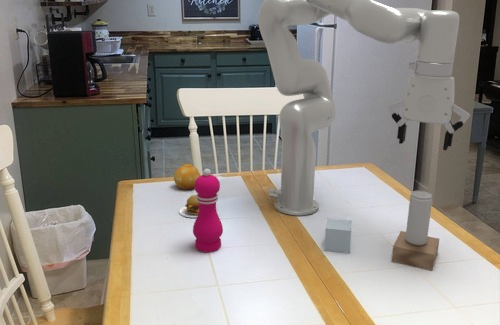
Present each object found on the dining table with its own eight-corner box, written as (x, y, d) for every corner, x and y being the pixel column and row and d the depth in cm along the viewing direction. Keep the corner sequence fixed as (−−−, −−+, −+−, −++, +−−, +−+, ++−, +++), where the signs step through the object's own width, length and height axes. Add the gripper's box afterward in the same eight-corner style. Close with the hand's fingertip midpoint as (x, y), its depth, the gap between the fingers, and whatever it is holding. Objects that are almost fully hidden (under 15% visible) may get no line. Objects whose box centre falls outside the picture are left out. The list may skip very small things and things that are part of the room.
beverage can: (427, 247, 117) (434, 198, 113) (406, 245, 118) (411, 197, 114) (425, 238, 121) (431, 191, 117) (404, 236, 122) (409, 189, 118)
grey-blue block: (324, 250, 123) (325, 228, 122) (325, 240, 129) (327, 218, 127) (349, 253, 122) (351, 230, 120) (350, 242, 128) (351, 220, 126)
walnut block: (391, 261, 119) (393, 245, 117) (399, 245, 126) (400, 230, 125) (432, 270, 115) (434, 254, 113) (437, 253, 122) (439, 238, 121)
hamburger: (165, 214, 144) (164, 196, 143) (197, 202, 153) (196, 185, 151) (193, 226, 137) (192, 208, 135) (225, 214, 145) (225, 196, 143)
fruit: (193, 173, 169) (184, 156, 164) (209, 181, 164) (199, 164, 159) (176, 190, 166) (165, 173, 161) (190, 199, 161) (180, 182, 156)
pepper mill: (227, 242, 127) (227, 166, 121) (216, 255, 120) (215, 175, 114) (200, 237, 129) (199, 162, 123) (188, 250, 123) (186, 171, 116)
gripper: (389, 68, 111) (381, 143, 116) (474, 75, 103) (461, 156, 109) (397, 64, 117) (389, 136, 123) (478, 71, 110) (465, 147, 115)
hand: (423, 145), depth 116 cm, fingers open, 9 cm apart
